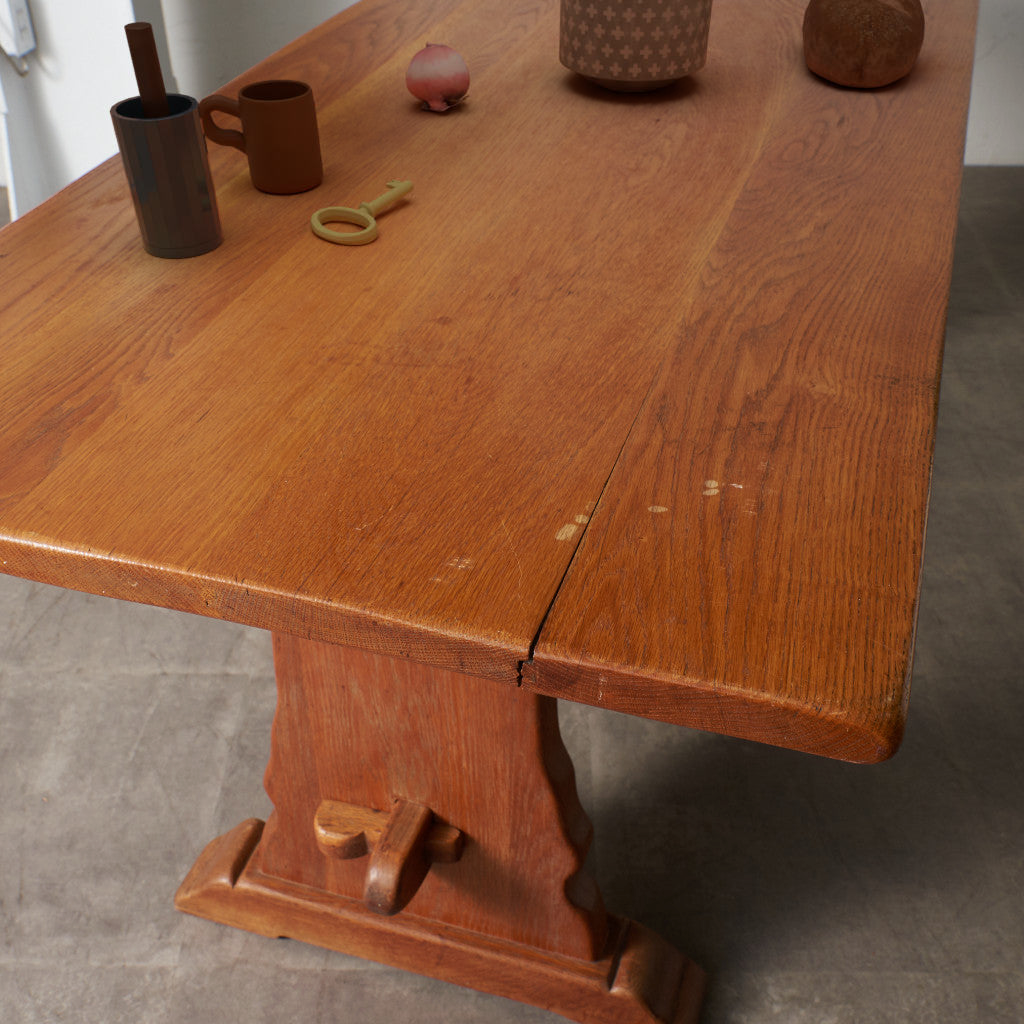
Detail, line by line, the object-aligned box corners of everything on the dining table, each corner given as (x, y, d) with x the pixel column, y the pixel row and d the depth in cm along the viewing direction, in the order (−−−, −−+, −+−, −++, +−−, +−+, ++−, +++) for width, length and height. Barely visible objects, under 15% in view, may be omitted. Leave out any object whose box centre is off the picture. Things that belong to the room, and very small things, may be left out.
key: (417, 199, 103) (416, 178, 102) (367, 249, 94) (364, 227, 93) (354, 190, 105) (351, 170, 104) (298, 239, 96) (295, 217, 95)
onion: (473, 97, 129) (471, 36, 124) (469, 117, 123) (467, 54, 118) (410, 96, 129) (407, 36, 124) (404, 116, 123) (399, 54, 118)
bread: (796, 89, 131) (812, -7, 124) (798, 30, 153) (812, -54, 146) (921, 97, 128) (946, -1, 121) (906, 36, 150) (925, -50, 143)
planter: (730, 95, 129) (751, -66, 117) (595, 114, 124) (604, -53, 112) (659, 56, 143) (672, -92, 131) (536, 71, 137) (538, -82, 126)
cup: (130, 255, 93) (94, 118, 85) (163, 223, 99) (132, 91, 91) (206, 261, 92) (177, 122, 84) (235, 227, 98) (210, 94, 90)
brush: (148, 239, 94) (97, 31, 82) (169, 218, 97) (123, 16, 86) (197, 243, 93) (153, 34, 82) (216, 221, 97) (176, 18, 85)
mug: (205, 200, 103) (186, 105, 97) (213, 172, 109) (195, 81, 103) (323, 194, 104) (312, 100, 98) (325, 166, 110) (313, 77, 104)
